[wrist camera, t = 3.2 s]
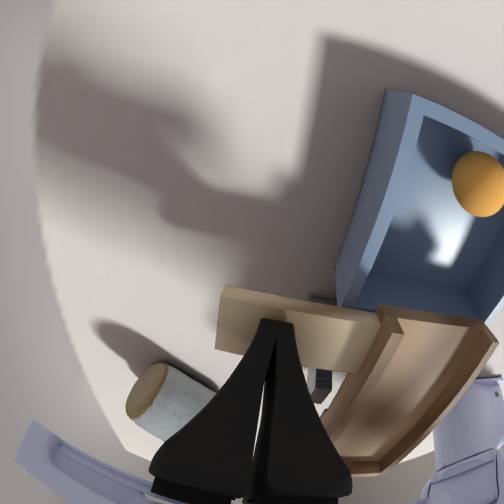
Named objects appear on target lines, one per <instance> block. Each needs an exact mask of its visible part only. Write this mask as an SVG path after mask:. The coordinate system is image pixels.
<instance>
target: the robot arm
mask: <svg viewBox="0 0 504 504" xmlns="http://www.w3.org/2000/svg"><path fill="white" fill-rule="evenodd" d="M264 382H265V383H264ZM502 382H503V378H502V377H500V378H487V379H475V380H474V382H473V383H472V384H471V386H470V387H469V388H468V390H467V391H466V392H465V393H464V395H463V396H462V397H461V398H460V400H459V401H458V402H457V403H456V405H455V406H454V407H453V408H452V409H451V411H450V412H449V413H448V414H447V415H446V416H445V417H444V419H443V420H442V421H441V422H440V423H439V424H438V425H437V426H436V427H435V428H434V429H433V437H434V447H435V461H436V472H435V473H432V474H431V479H430V480H429V481H428V482H427V483H426V485H425V487H424V488H423V490H422V493H421V498H420V501H416V502H411V503H406V504H495V503H496V504H504V449H501V450H499V448H500V447H501V446H502V445H503V443H504V400H503V396H502V393H501V389H500V385H499V384H501V383H502ZM263 386H264V395H263V406H262V416H261V422H260V427H259V432H258V437H257V442H256V446H255V451H254V444H255V438H256V431H257V424H258V418H259V411H260V405H261V399H262V392H263ZM253 451H254V455H253ZM252 458H253V460H252ZM14 459H15V461H16V462H17V463H18V464H20V465H21V466H22V467H23V468H25V469H26V470H27V471H28V472H30V473H31V474H32V475H34V476H35V477H36V478H37V479H39V480H40V481H41V482H42V483H44V484H45V485H46V486H48V487H49V488H50V489H52V490H53V491H54V492H56V493H57V494H58V495H60V496H61V497H62V498H64V499H65V500H66V501H68V502H69V503H71V504H162V503H158V502H156V501H152V500H149V499H146V498H145V495H144V494H143V493H145V494H148V495H150V496H153V497H156V498H159V499H162V500H165V501H168V502H171V503H175V504H231V500H235V498H242V497H243V500H242V503H243V504H338V498H340V497H344V496H348V495H350V494H351V493H352V477H351V471H350V470H349V468H348V467H347V465H346V464H345V462H344V461H343V459H342V458H341V456H340V455H339V453H338V451H337V450H336V448H335V446H334V445H333V443H332V441H331V439H330V437H329V436H328V434H327V432H326V430H325V428H324V426H323V424H322V422H321V420H320V417H319V415H318V413H317V411H316V408H315V406H314V403H313V401H312V398H311V395H310V393H309V390H308V387H307V384H306V381H305V377H304V374H303V370H302V366H301V362H300V358H299V354H298V349H297V344H296V338H295V329H294V325H293V323H288V322H282V321H277V320H272V319H267V318H262V319H260V323H259V326H258V329H257V331H256V334H255V336H254V338H253V340H252V342H251V344H250V346H249V348H248V349H247V351H246V353H245V355H244V356H243V358H242V360H241V361H240V363H239V364H238V366H237V367H236V369H235V370H234V372H233V373H232V375H231V376H230V377H229V379H228V380H227V381H226V382H225V384H224V385H223V386H222V387H221V389H220V390H219V391H218V392H217V394H216V395H215V396H214V397H213V398H212V399H211V400H210V401H209V402H208V404H207V405H206V406H205V407H204V408H203V409H202V410H201V411H200V412H199V413H198V414H197V415H195V416H194V417H193V418H192V419H191V420H190V421H189V422H188V423H187V424H186V425H185V426H183V427H182V428H181V429H180V430H179V431H177V432H176V433H175V434H174V435H172V436H171V437H170V438H169V439H167V440H166V441H165V442H164V444H163V445H162V446H161V447H160V448H159V450H158V451H157V452H156V454H155V455H154V457H153V459H152V461H151V464H150V467H149V470H148V471H149V473H150V474H152V475H153V476H155V479H154V482H153V483H152V482H149V481H147V480H144V479H141V478H139V477H136V476H133V475H131V474H129V473H126V472H124V471H122V470H119V469H117V468H115V467H113V466H111V465H108V464H106V463H104V462H102V461H100V460H98V459H96V458H94V457H92V456H90V455H88V454H86V453H85V452H83V451H81V450H79V449H77V448H76V447H74V446H72V445H70V444H69V443H67V442H65V441H64V440H62V439H61V438H60V437H58V436H57V435H55V434H54V433H52V432H51V431H49V430H48V429H46V428H45V427H43V426H42V425H40V424H39V423H38V422H36V421H34V420H32V421H31V423H30V425H29V427H28V429H27V431H26V433H25V435H24V437H23V439H22V442H21V444H20V446H19V448H18V451H17V453H16V455H15V458H14Z"/></svg>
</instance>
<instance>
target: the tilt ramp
mask: <svg viewBox="0 0 504 504" xmlns="http://www.w3.org/2000/svg"><path fill="white" fill-rule="evenodd" d="M262 318H267V319H272V320H277V321H282V322H288V323H293V325H294V329H295V338H296V344H297V349H298V354H299V358H300V362H301V366H303V367H310V368H317V369H324V370H332V371H340V372H348V373H347V375H346V377H345V379H344V381H343V383H342V385H341V386H340V388H339V390H338V392H337V394H336V395H335V397H334V399H333V401H332V402H331V404H330V406H329V408H328V409H325V410H324V411H323V413H322V415H321V416H320V420H321V422H322V424H323V426H324V428H325V430H326V432H327V434H328V436H329V437H330V439H331V441H332V443H333V445H334V446H335V448H336V450H337V451H338V453H339V455H340V456H341V458H342V459H343V461H344V462H345V464H346V465H347V467H348V468H349V470H350V471H351V477H364V476H381V475H385V474H386V473H387V472H388V471H390V470H391V469H392V468H393V467H394V466H396V465H397V464H398V463H399V462H400V461H401V460H402V459H404V458H405V457H406V456H407V455H408V454H409V453H410V452H411V451H412V450H413V449H414V448H415V447H417V446H418V445H419V444H420V443H421V442H422V441H423V440H424V439H425V438H426V437H427V436H428V435H429V434H430V433H431V432H432V430H433V429H434V428H435V427H436V426H437V425H438V424H439V423H440V422H441V421H442V420H443V419H444V417H445V416H446V415H447V414H448V413H449V412H450V411H451V409H452V408H453V407H454V406H455V405H456V403H457V402H458V401H459V400H460V398H461V397H462V396H463V395H464V393H465V392H466V391H467V390H468V388H469V387H470V386H471V384H472V383H473V382H474V380H475V379H476V377H477V376H478V375H479V373H480V372H481V370H482V369H483V367H484V366H485V364H486V363H487V361H488V360H489V358H490V357H491V355H492V354H493V352H494V350H495V349H496V347H497V346H498V344H499V342H498V340H497V339H496V338H495V336H494V335H493V334H492V332H491V331H490V330H489V328H488V327H487V326H486V325H485V323H484V322H483V321H482V320H481V319H474V318H467V317H460V316H453V315H446V314H440V313H433V312H426V311H420V310H414V309H407V308H401V307H395V306H389V305H383V304H379V307H378V309H377V312H376V313H373V312H367V311H361V310H355V309H349V308H343V307H337V306H332V305H326V304H320V303H315V302H310V301H304V300H299V299H294V298H288V297H283V296H278V295H273V294H268V293H263V292H258V291H253V290H248V289H244V288H239V287H234V286H229V285H226V286H225V288H224V290H223V292H222V294H221V298H220V306H219V315H218V324H217V333H216V342H215V349H217V350H221V351H226V352H230V353H234V354H239V355H245V353H246V351H247V349H248V348H249V346H250V344H251V342H252V340H253V338H254V336H255V334H256V331H257V329H258V326H259V323H260V319H262Z"/></svg>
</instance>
